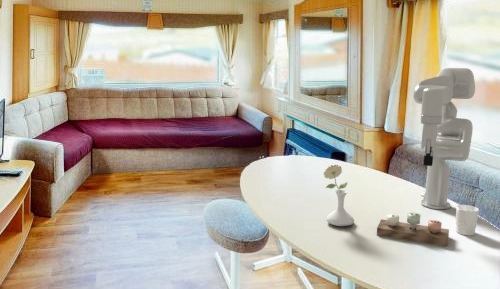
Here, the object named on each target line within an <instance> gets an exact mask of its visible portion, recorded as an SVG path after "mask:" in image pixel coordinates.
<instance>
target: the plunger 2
mask: <svg viewBox="0 0 500 289" xmlns="http://www.w3.org/2000/svg"><path fill="white" fill-rule="evenodd" d="M406 223H409V224H411V229H412V230H415V224H416V225H421V224H420V223H421V214H420V213H417V212H407V216H406Z"/></svg>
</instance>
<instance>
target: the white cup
mask: <svg viewBox="0 0 500 289" xmlns="http://www.w3.org/2000/svg"><path fill="white" fill-rule="evenodd" d="M455 210H456V211H455V232H456V233H457V234H459V235H463V236H468V237H469V236H474V235H475V234H476V228H477V224H478V220H479V219H478V218H479V212H480V209H479V208H478V207H476V206H473V205H470V204H469V205H467V204H458V205H456V206H455Z"/></svg>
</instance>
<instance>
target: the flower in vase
mask: <svg viewBox="0 0 500 289" xmlns="http://www.w3.org/2000/svg"><path fill="white" fill-rule="evenodd" d="M342 173H343V168H342V165H340V166H339V164H331V165H330V166H328V167H327V168H326V169H324V172H323V175H324V178H326V179H328V180H333V179H334V183H330V184H327V185H326V187H325V189H326V188H327V189H334V188H336V187H337V190H335V194H336V195H337V207H336V209H335V210H333V211H331V212H330V213H329V214H328V215H327V216H326V218H325V220H326V222H327V223H328V224H330V225H333V226H337V227H348V226H351V225H353V224H354V223H355V219H354V217H353V216H352V215H351V214H350V213H349V212H348V211H347V210H346V209H345V208H344V203H345V198H346V196H347V194H348V191H347V190H346V189H344V188H346V187H347V185H348V182H344V183H342V184H340V185H338V184H337V179H336V178H338V177H339V176H340V175H341V174H342Z"/></svg>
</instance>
